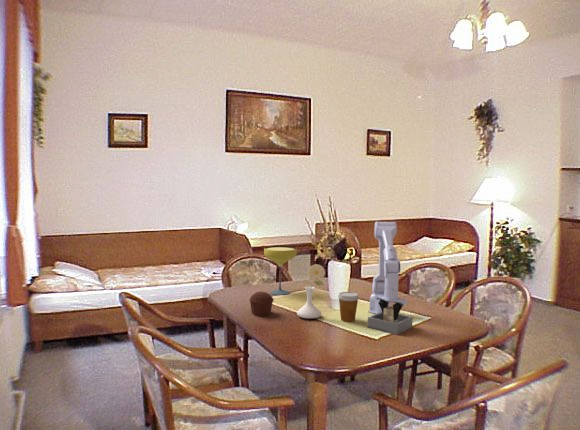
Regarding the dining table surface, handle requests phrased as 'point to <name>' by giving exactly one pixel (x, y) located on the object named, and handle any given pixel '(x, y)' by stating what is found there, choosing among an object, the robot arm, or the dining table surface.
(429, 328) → the dining table surface
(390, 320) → the birch block
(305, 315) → the flower in vase
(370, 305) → the robot arm
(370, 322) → the charcoal bin
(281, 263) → the cocktail glass
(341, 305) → the disposable coffee cup
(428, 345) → the dining table surface
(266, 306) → the muffin
